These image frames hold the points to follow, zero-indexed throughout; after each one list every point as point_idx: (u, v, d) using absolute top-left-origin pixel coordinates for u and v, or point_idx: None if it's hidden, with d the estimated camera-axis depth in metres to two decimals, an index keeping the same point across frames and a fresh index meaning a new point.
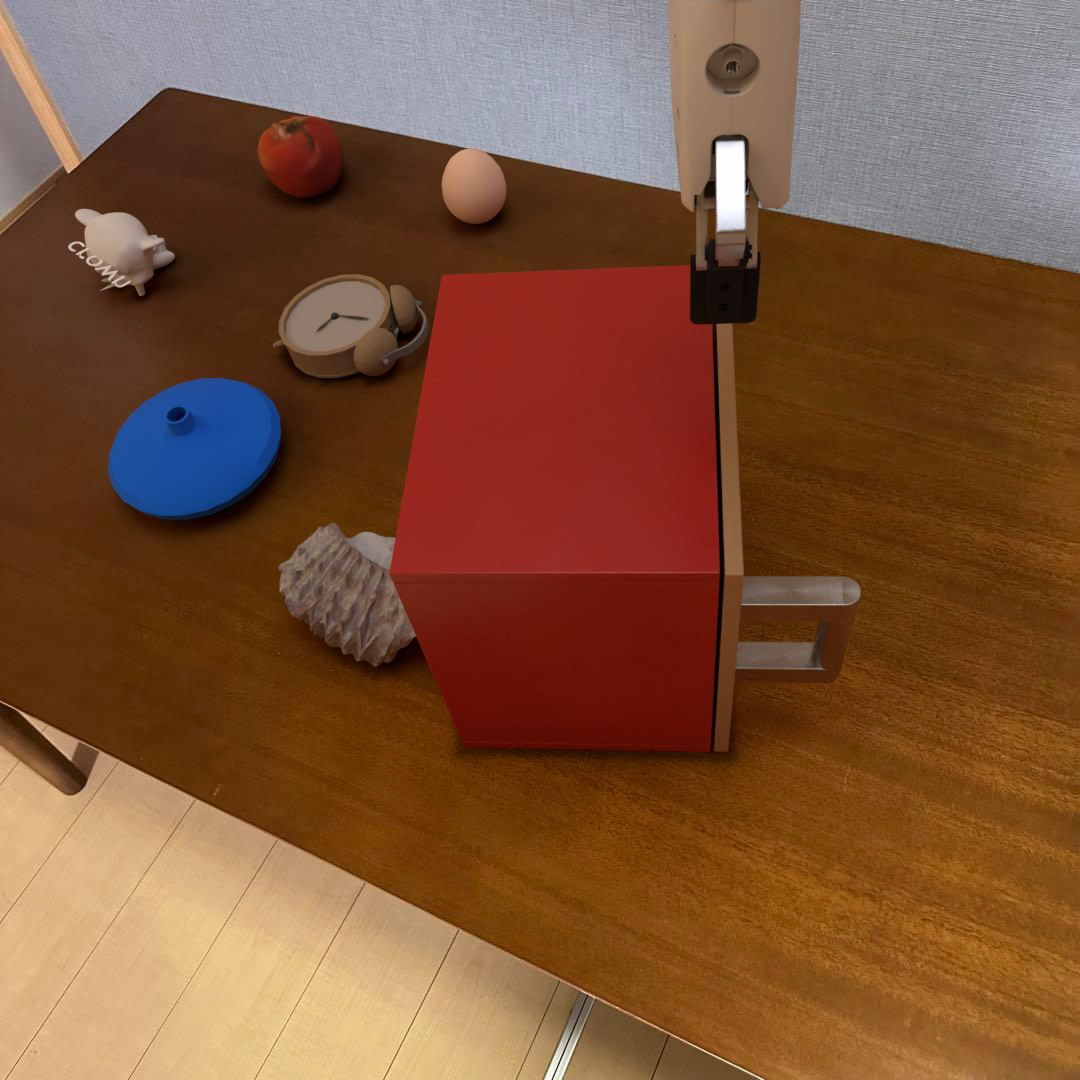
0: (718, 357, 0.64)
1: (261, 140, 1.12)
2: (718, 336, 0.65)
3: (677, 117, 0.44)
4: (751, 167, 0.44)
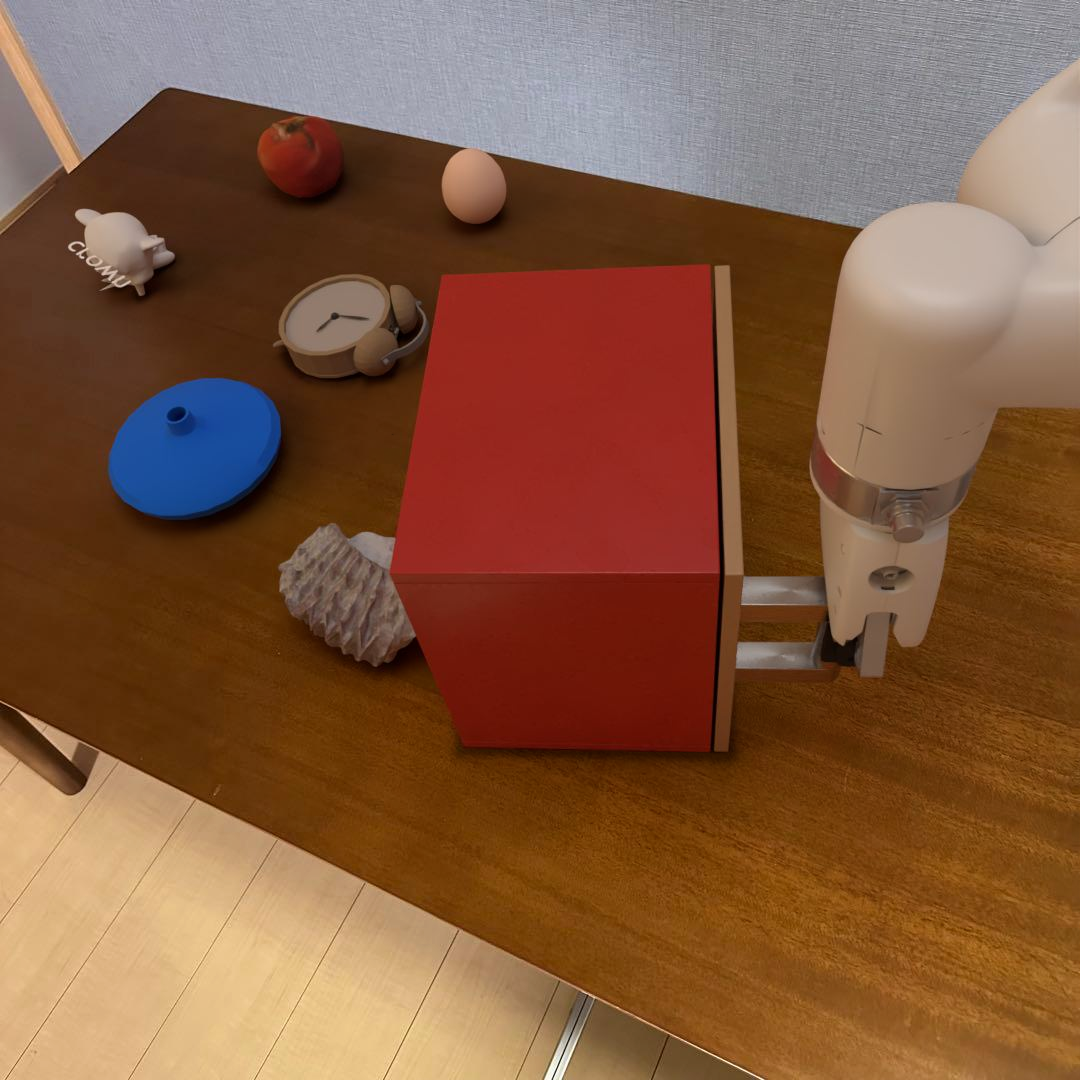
0: (718, 357, 0.64)
1: (261, 140, 1.12)
2: (718, 336, 0.65)
3: (837, 591, 0.53)
4: (897, 629, 0.54)
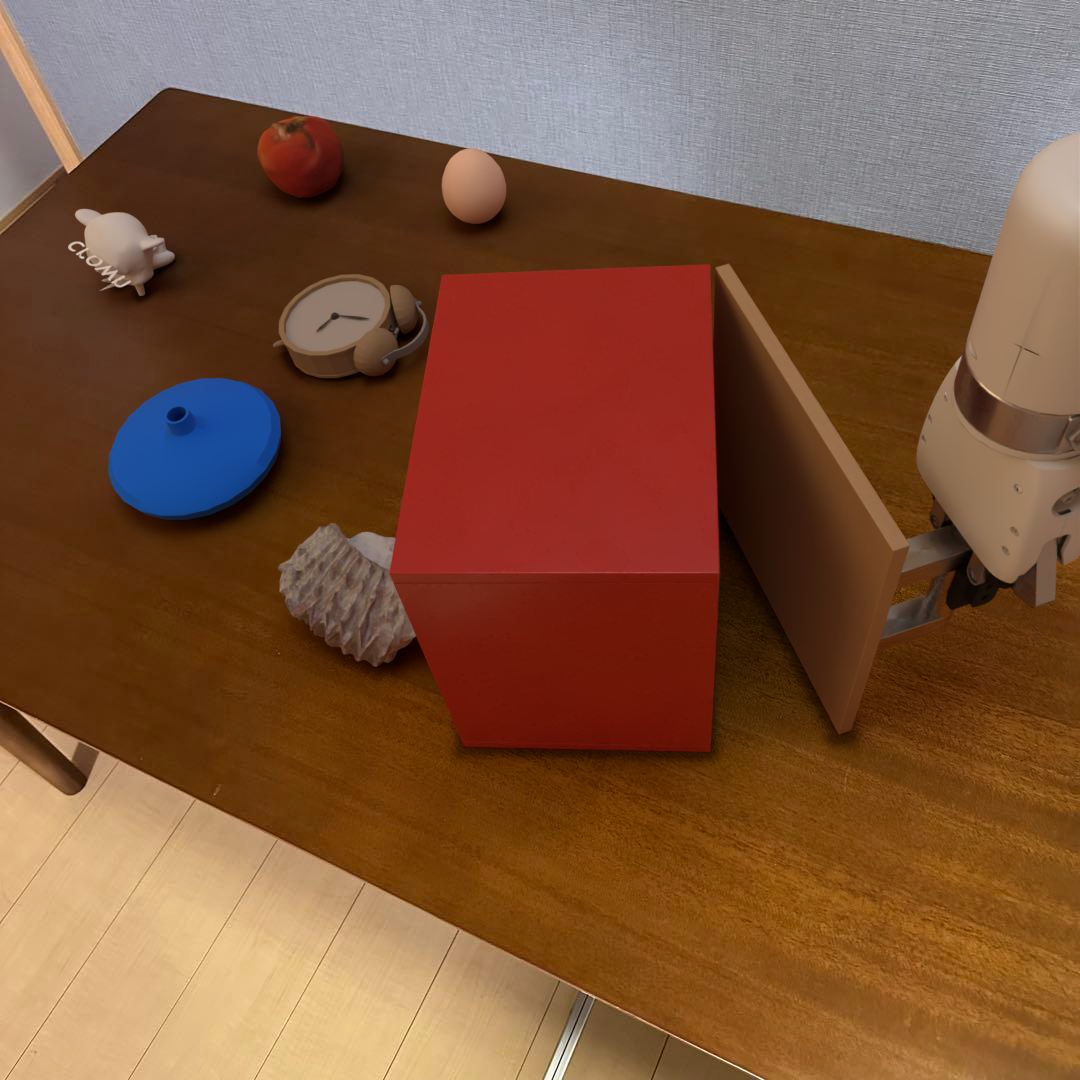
0: (768, 351, 0.64)
1: (261, 140, 1.12)
2: (757, 331, 0.65)
3: (1010, 531, 0.54)
4: (1067, 549, 0.55)
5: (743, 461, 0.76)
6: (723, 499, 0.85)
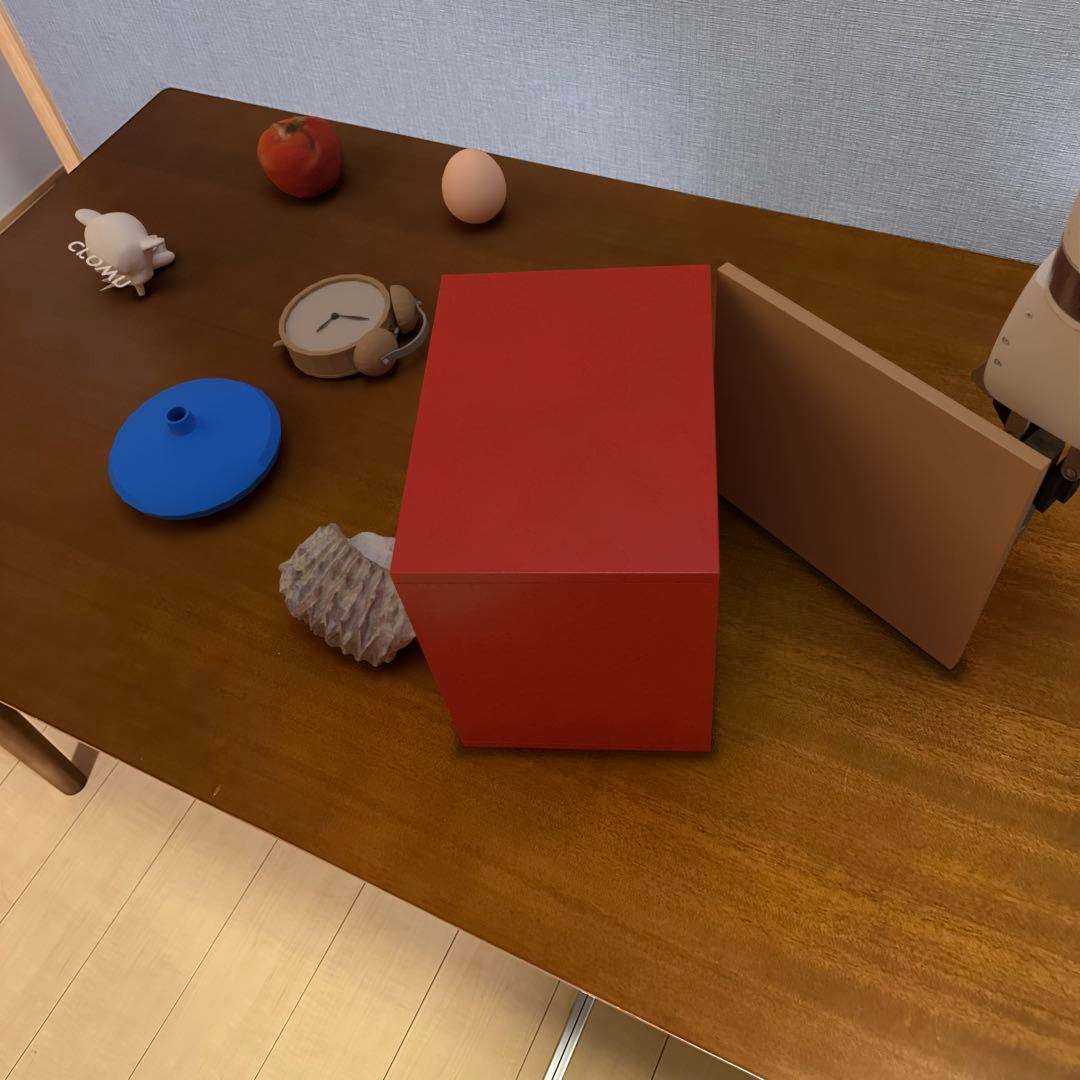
0: (815, 329, 0.64)
1: (261, 140, 1.12)
2: (794, 315, 0.65)
3: None
4: None
5: (774, 448, 0.76)
6: (738, 494, 0.85)
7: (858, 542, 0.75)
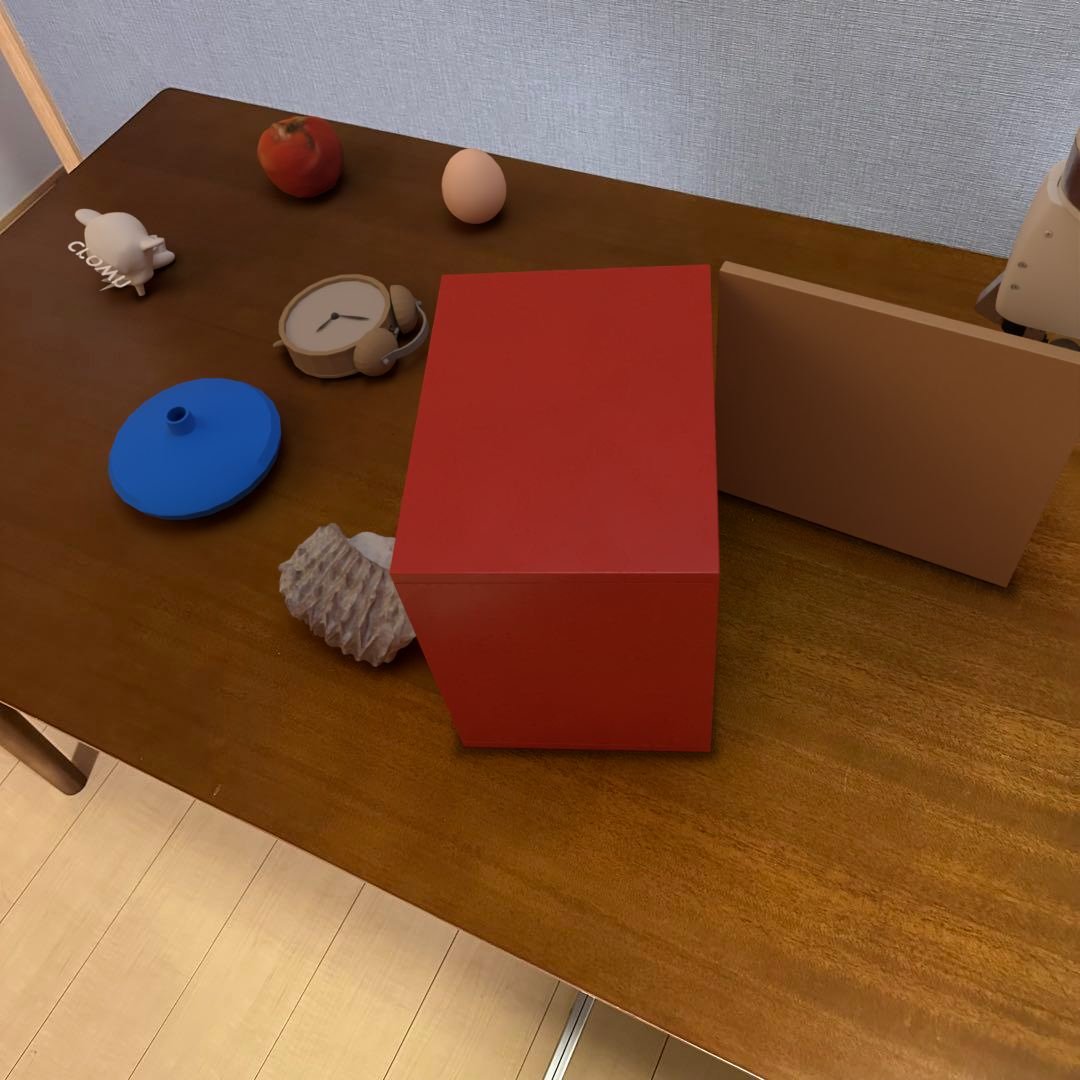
0: (842, 301, 0.66)
1: (261, 140, 1.12)
2: (815, 293, 0.66)
3: None
4: None
5: (792, 429, 0.77)
6: (747, 485, 0.85)
7: (896, 494, 0.77)
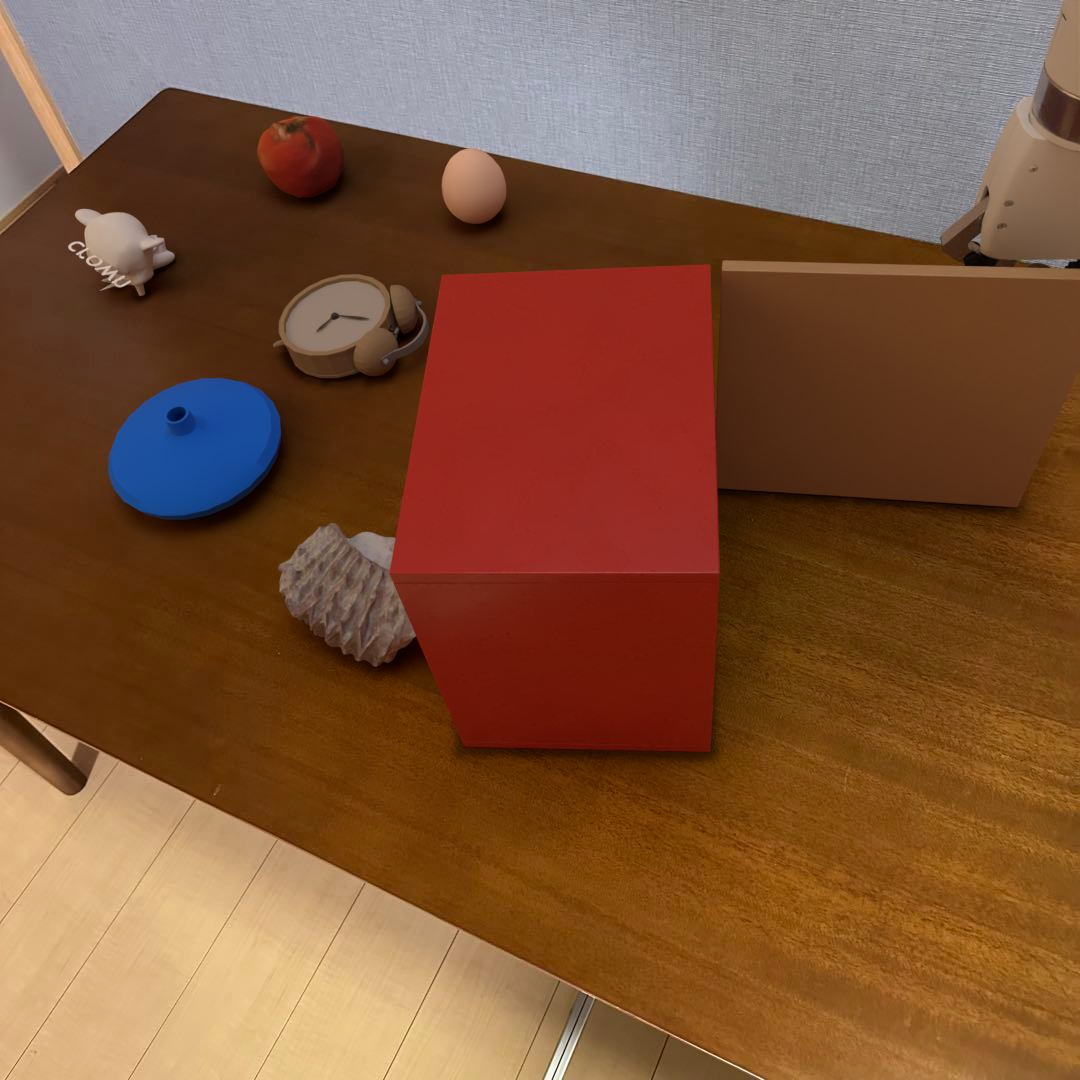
0: (852, 273, 0.67)
1: (261, 140, 1.12)
2: (824, 271, 0.67)
3: None
4: None
5: (800, 409, 0.78)
6: (752, 476, 0.86)
7: (908, 446, 0.79)
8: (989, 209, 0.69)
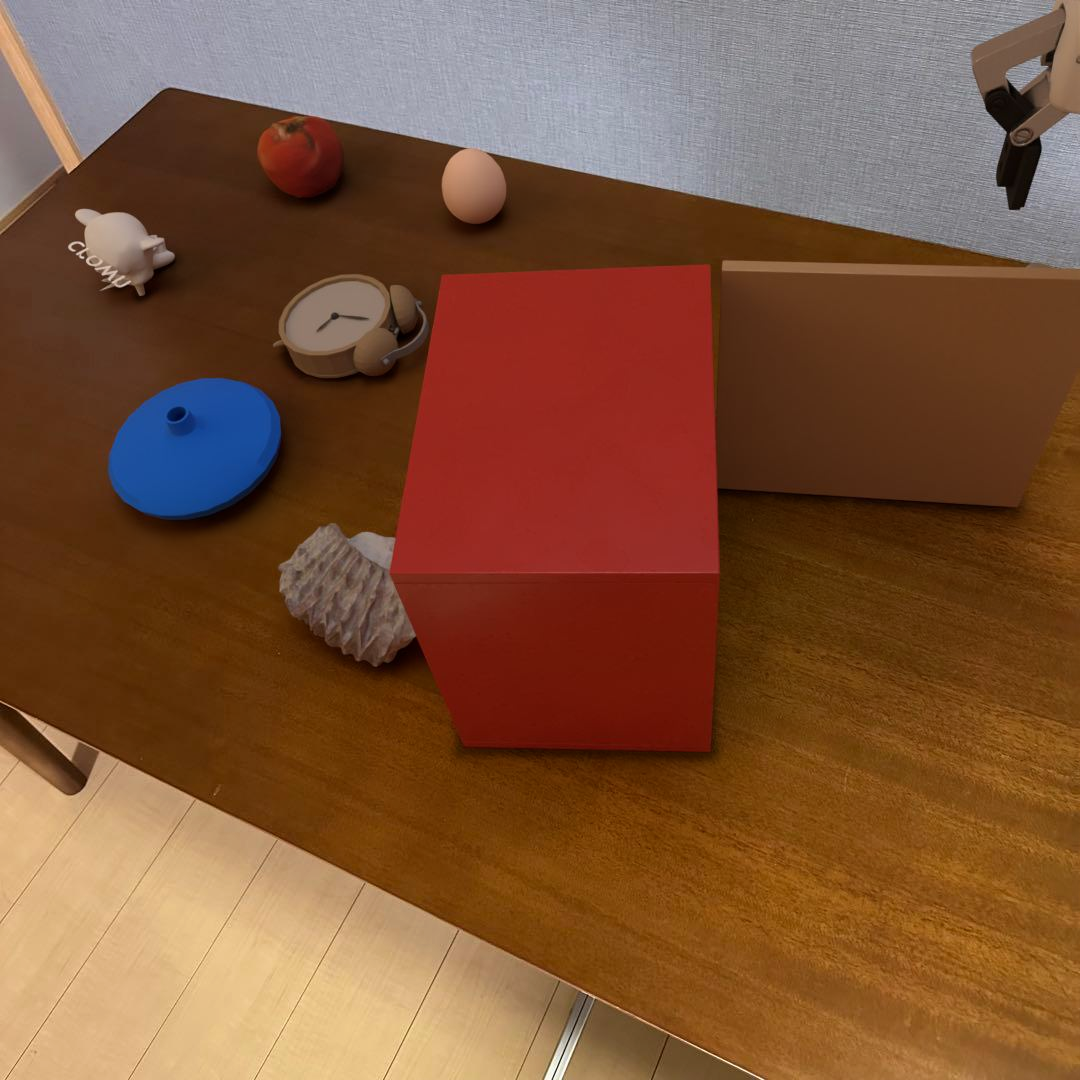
0: (852, 273, 0.67)
1: (261, 140, 1.12)
2: (824, 271, 0.67)
3: None
4: None
5: (800, 409, 0.78)
6: (752, 476, 0.86)
7: (908, 446, 0.79)
8: (1065, 35, 0.49)
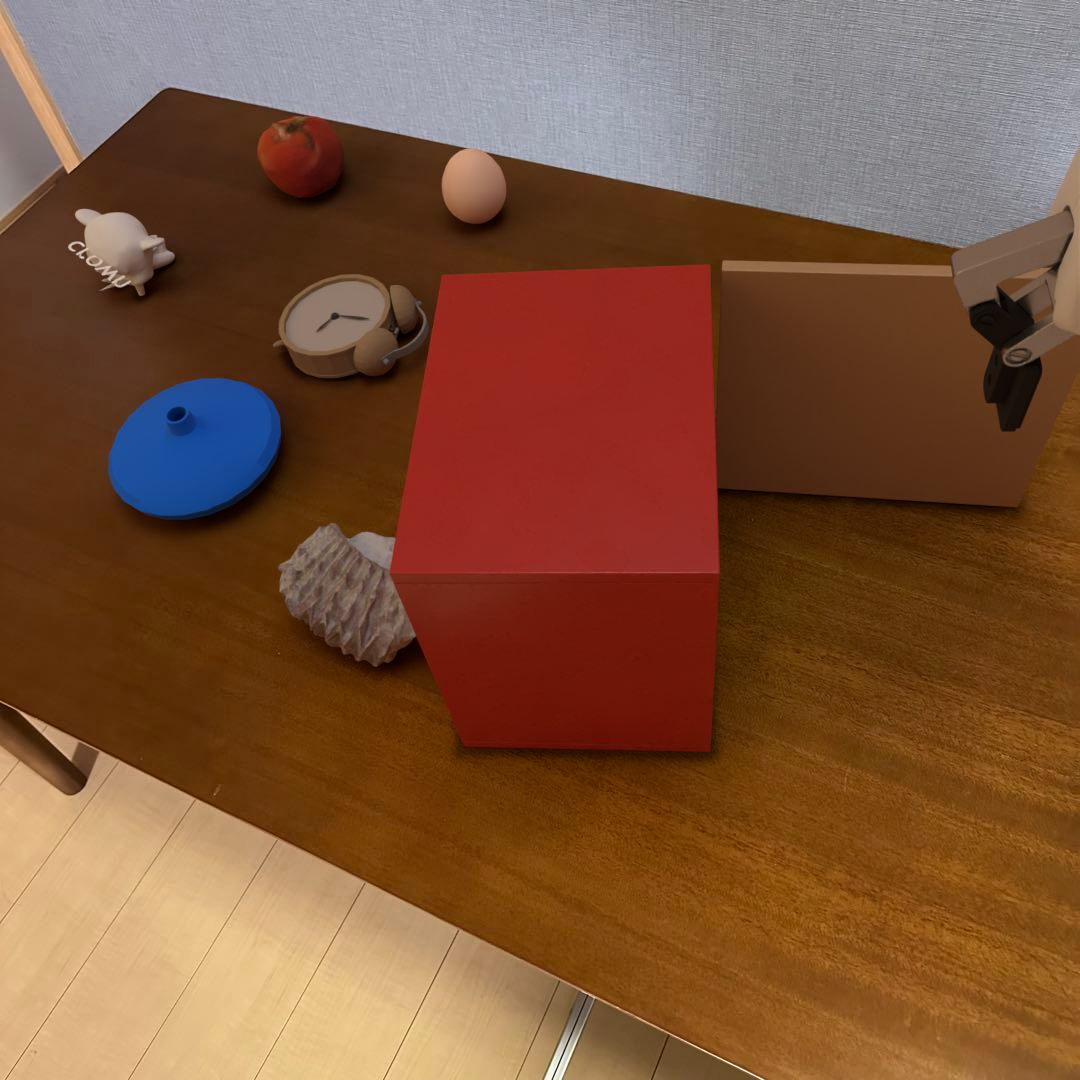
0: (852, 273, 0.67)
1: (261, 140, 1.12)
2: (824, 271, 0.67)
3: None
4: None
5: (800, 409, 0.78)
6: (752, 476, 0.86)
7: (908, 446, 0.79)
8: (1074, 250, 0.38)
